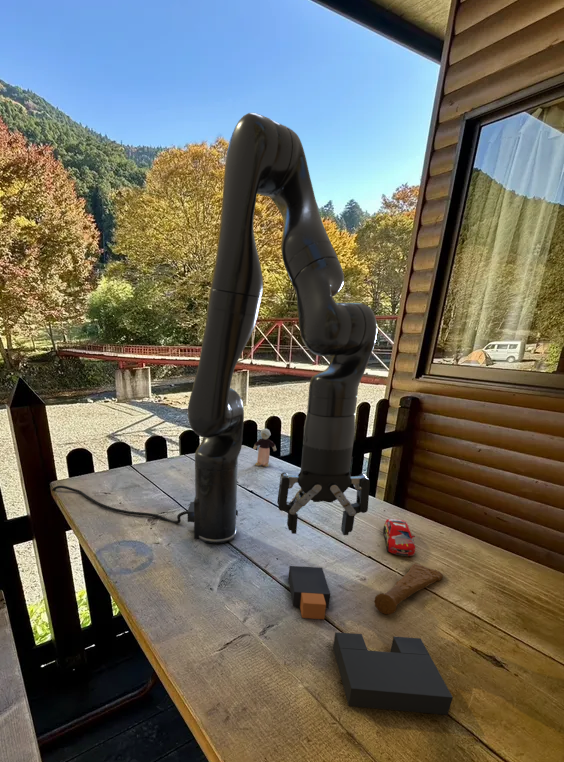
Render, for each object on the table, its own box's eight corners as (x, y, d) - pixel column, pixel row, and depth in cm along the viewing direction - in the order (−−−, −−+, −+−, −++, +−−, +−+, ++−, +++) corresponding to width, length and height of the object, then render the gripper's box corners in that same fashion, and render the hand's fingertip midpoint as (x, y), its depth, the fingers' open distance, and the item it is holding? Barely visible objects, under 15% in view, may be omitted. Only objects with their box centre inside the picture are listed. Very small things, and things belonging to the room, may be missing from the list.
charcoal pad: (294, 617, 68) (296, 602, 67) (288, 579, 78) (289, 565, 77) (331, 620, 67) (333, 605, 66) (320, 581, 77) (322, 567, 76)
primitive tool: (414, 565, 82) (418, 549, 80) (444, 576, 78) (448, 561, 77) (370, 609, 70) (373, 592, 68) (403, 625, 66) (407, 608, 65)
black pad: (348, 706, 52) (351, 688, 51) (332, 647, 62) (335, 631, 61) (448, 715, 51) (453, 697, 50) (416, 654, 60) (420, 638, 59)
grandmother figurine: (252, 466, 137) (253, 429, 133) (252, 462, 141) (254, 426, 136) (275, 467, 136) (278, 430, 131) (275, 463, 139) (277, 427, 135)
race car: (415, 561, 83) (419, 544, 82) (386, 556, 85) (389, 539, 83) (407, 531, 95) (410, 515, 93) (382, 527, 96) (384, 512, 95)
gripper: (367, 435, 67) (355, 523, 73) (279, 434, 68) (274, 521, 74) (382, 448, 60) (368, 545, 66) (284, 447, 61) (278, 542, 67)
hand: (318, 532), depth 70 cm, fingers open, 8 cm apart
